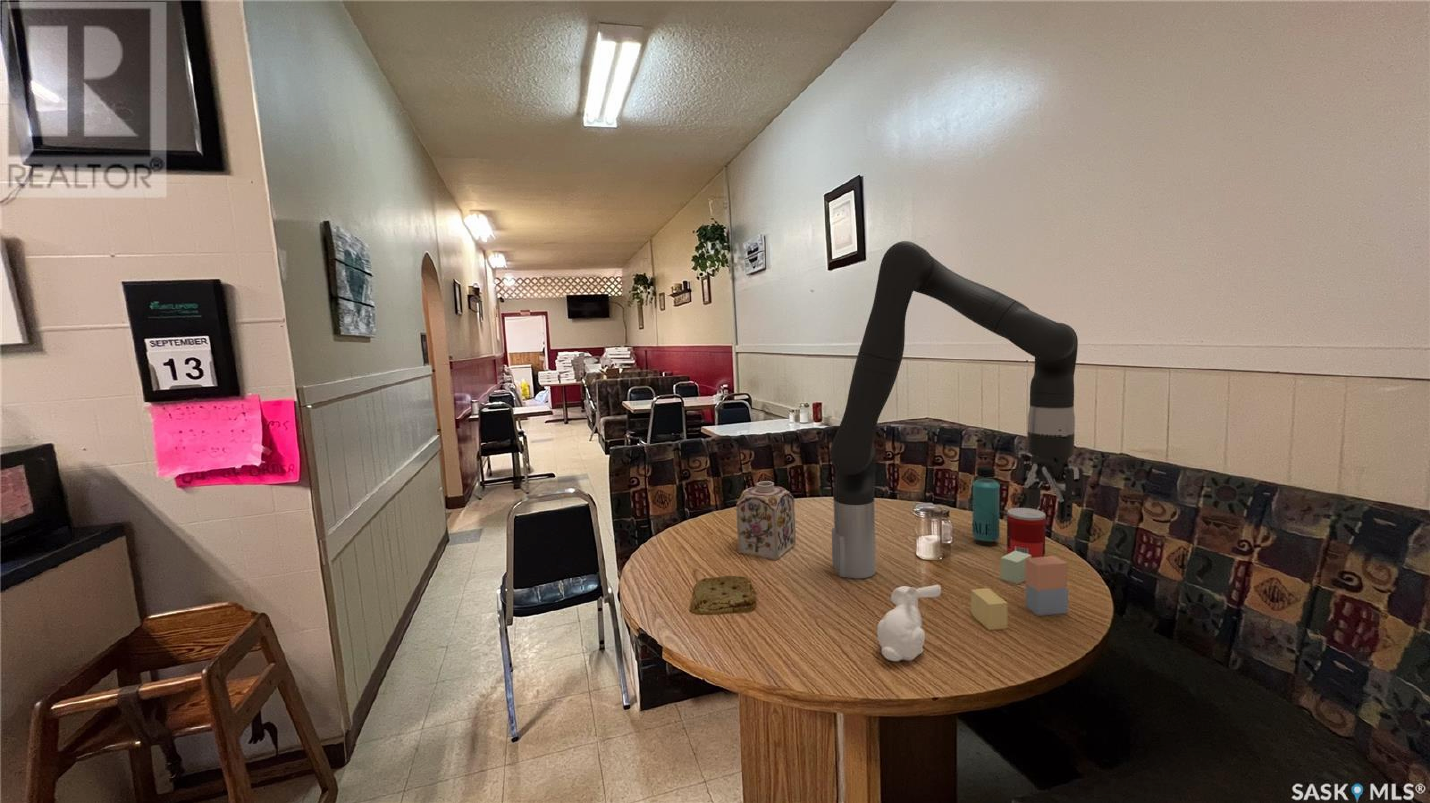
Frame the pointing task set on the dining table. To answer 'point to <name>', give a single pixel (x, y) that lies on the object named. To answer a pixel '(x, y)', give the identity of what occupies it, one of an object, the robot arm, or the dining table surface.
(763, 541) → the decorative jar
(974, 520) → the beverage bottle
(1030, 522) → the canned food
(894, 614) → the rabbit
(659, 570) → the dining table surface
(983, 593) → the ochre brick
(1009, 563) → the sage brick
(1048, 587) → the terracotta brick
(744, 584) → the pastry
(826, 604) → the dining table surface
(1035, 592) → the slate brick
